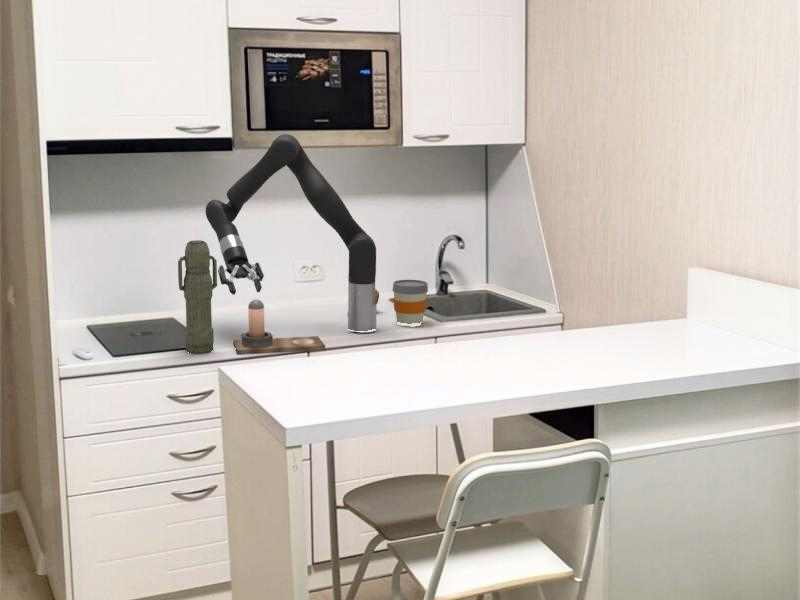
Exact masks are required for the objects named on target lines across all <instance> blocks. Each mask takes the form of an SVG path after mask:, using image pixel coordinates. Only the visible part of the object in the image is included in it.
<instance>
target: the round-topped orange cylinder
mask: <svg viewBox="0 0 800 600" xmlns="http://www.w3.org/2000/svg"><path fill="white" fill-rule="evenodd" d="M247 308H248V309H247V312H248V332H249V337H252V338H261V337H265V332H266V331H265V330H266V329H265V325H266V324H265V305H264V303H263V301H261V300H260V299H252V300H251V301H250V302H249V303H248V307H247Z"/></svg>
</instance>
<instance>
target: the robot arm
mask: <svg viewBox="0 0 800 600" xmlns="http://www.w3.org/2000/svg"><path fill="white" fill-rule="evenodd" d="M285 167H287V168H288V169H289V170H290V171H291V173H292V174H293V175H294V176H295V178H296V180H297V182H298V183H299V185H300V188H301V189H302V192H303V194H304V196H305V198H306V199H307V201H308V203H310V205H311V206H312V208H313V209H314V210H315V212H316V214H318V216H320V217H321V218H322V220H324V222H326V224H328V225H329V226H330V227H331V228H332V229H333V230H334V231H335V232H336V233H337V234H338V236H339V237H340V239H341V240H342V241H343V243H344V245H345V246H346V248H347V250H348V282H347V283H348V287H347V288H348V292H347V294H348V298H347V299H348V302H347V305H348V307H347V308H348V309H347V330H348V329H350V330H354V331H368V330H372V329H376V330H377V311H378V310H377V304H375V289H376V277H377V276H376V274H377V247H376V243H375V242H374V239H373V238H372V237H371V236H370V235H369V234H368V233H367V232H366V231H365V230H364V229H363V228H362V227H361V225H359V224H358V223H357V221H356V220H355V219H354V217H353V216H352V214H351V213H350V211H349V209H348V207H347V206H346V205H345V203H344V201H343V200H342V198H341V197H340V196H339V194H338V193H337V191H336V189H334V188H333V186H332V185H331V184H330V183H329V182H328V180H327V179H326V178H325V177H324V175H323V174H322V173H321V172H320V171H319V169H318V168H317V167H316V166H315V165H314V164H313V162H312V161H311V160H310V157H308V154H307V153H306V151H305V150H304V148H303V147H302V145H301V143H300V141H298V139H297V138H296V137H295V136H293V135H291V134H289V133H283V134H280V135H278V136H277V137H276V138H275V139H274V140H273V141H272V142H271V144H270V146H269V148H268V149H267V150H266V152H265V153H264V155H263V156H262V157H261V159H260V160H258V162H256V164H255V165H254V166H253V167H251V169H249V170H248V171H247V172H246V173H245V174H244V175H242V176H241V177H240V178H239V179H238V180H237V181H236V182H235V183H233V185H232V186H231V187H230V188H229V189H228V190H227V192H226V197H227V199H228V202H227V203H225V202H223V201H222V200H219V199H212V200H210V201H209V202H207V204H206V206H205V210H204V211H205V216H206V219H207V221H208V223H209V224H210V227H211V228H212V229H213V231H214V232H215V234H216V238H217V240H218V243H219V248H220V252H221V253H220V254H221V255H222V258H223V261H224V264H225V266H224V265H222V264H221V265H220V266H219V267H218V269H217V274H218V276H219V280H220V284H221V285H223V286H224V285H227V287H228V291H229V293H230V294H231V295H232V296H233V295H234V296H235V295H236V293H237V289H236V286H235V282H234V279H236V280H237V279H238V280H239V279H247V280H249V281H252V282H253V284H254V287H255V290H256V292H257V293H260V292H261V290H262V284H261V282H262V281H263V279H264V277H265V274H264V272H263V270H262V267H261V266H260V265H261V264H260V263H259V262H255V263H254V264H251V263H250V262H249V257H248V255H247V253H246V249H245V247H244V244H243V241H242V239H241V237H240V234H239V232H238V231H239V230H238V229H237V226H236V225H235V224H234V223H233V222H234V221H235V220H236V218H237V217H238V216H239V213H240V211H241V210H242V209H243V206H244V204H246V203H247V202H248V201H249V200H250V199H251V198H252V197H253V196H254V195H255V194H256V193H257V192H258V191H259V190H260V189H261V188H262V186H263V185H264V184H266V182H267V181H268V180H269V179H270V178H271V177H273V176H274V175H275V174H277V172H279V171H280V170H281V169H283V168H285ZM226 272H227V274H229V275H230V276H229V277H228V278H227V276H226Z"/></svg>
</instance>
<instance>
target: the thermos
mask: <svg viewBox="0 0 800 600" xmlns="http://www.w3.org/2000/svg"><path fill="white" fill-rule="evenodd" d="M210 253H211V252H210V248H209V245H208V243H207V242H206V241H204V240H199V239H198V240H197V239H196V240H190V241H189V242H187V243H186V245H185V249H184V255H183V256H180V258H178V261H177V276H178V277H177V278H178V279H177V280H178V289H179V290H180V291H182V292H183V298H184V300H185V316H186V317H185V322H186V323H185V324H186V325H185V329H184V343H185V352H186V351H187V352H189V353H188V354H190V353H191V355H206V354H211V353H212V352H211V351H212V350H213V351H214V343H215V341H214V339H215V337H214V335H215V334H214V329H213V328H214V327H213V326H212V325H213V324H212V323H213V322H212V321H213V320H212V298H213V296H214V295H213V290H214V289H215V288H217V287H218V269H217V268H218V267H217V262H218V261H217V259H216V258H215V257H214V256H213V255H210ZM210 260H211V261H212V276H211V269H210V267H211V266H210V265H211V264H210V263H211V261H210ZM183 261H184V267H185V274H184V277H183ZM187 352H186V353H187Z"/></svg>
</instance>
